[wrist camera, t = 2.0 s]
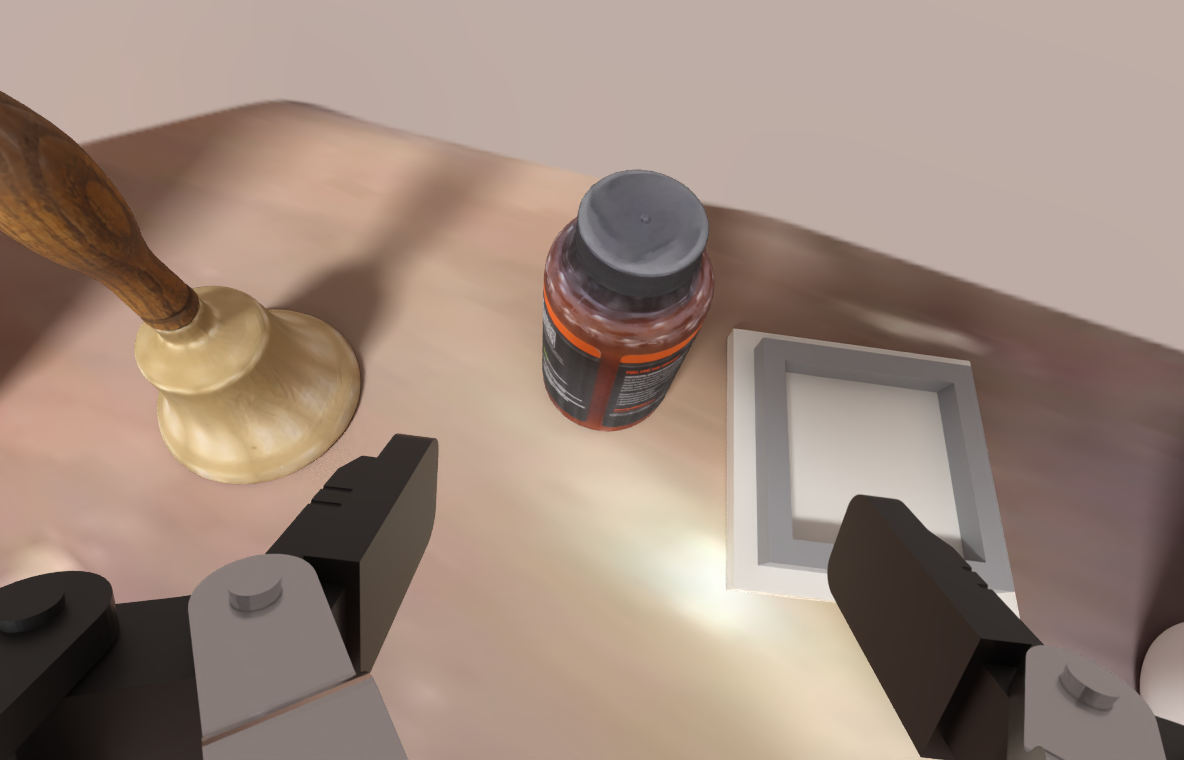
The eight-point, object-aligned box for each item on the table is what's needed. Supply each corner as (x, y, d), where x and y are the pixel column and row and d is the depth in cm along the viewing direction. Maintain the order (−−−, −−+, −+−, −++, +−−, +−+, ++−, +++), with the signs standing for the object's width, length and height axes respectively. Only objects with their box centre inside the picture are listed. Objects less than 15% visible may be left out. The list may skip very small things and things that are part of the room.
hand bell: (306, 282, 27) (49, -106, 13) (396, 411, 25) (209, 118, 11) (129, 373, 25) (-446, 14, 10) (212, 526, 23) (-369, 344, 8)
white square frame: (726, 589, 23) (743, 586, 21) (727, 337, 28) (742, 315, 26) (1002, 622, 24) (1044, 622, 22) (956, 369, 29) (987, 350, 27)
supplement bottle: (689, 369, 27) (782, 214, 17) (616, 461, 25) (673, 346, 15) (592, 300, 28) (625, 115, 18) (515, 382, 26) (502, 224, 16)
